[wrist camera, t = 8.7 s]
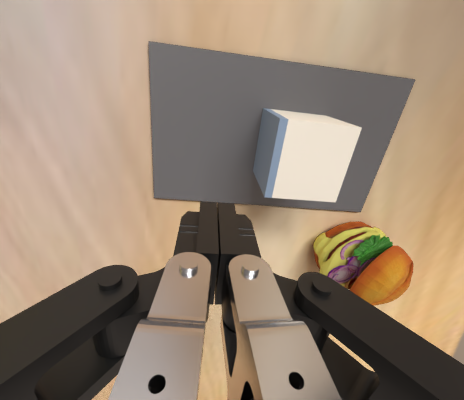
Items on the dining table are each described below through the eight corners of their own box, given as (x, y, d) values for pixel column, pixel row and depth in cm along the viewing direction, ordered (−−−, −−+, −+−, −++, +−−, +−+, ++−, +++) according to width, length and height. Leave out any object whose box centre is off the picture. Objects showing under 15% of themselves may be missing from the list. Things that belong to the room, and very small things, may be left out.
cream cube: (263, 108, 25) (326, 115, 26) (252, 170, 28) (309, 175, 29) (280, 118, 19) (361, 127, 20) (264, 197, 22) (335, 202, 23)
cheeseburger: (329, 206, 32) (394, 258, 23) (380, 216, 36) (449, 263, 28) (295, 263, 36) (341, 325, 27) (345, 266, 40) (396, 319, 32)
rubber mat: (413, 79, 25) (415, 79, 25) (359, 210, 32) (360, 211, 32) (149, 41, 22) (148, 41, 22) (154, 196, 29) (153, 197, 29)
